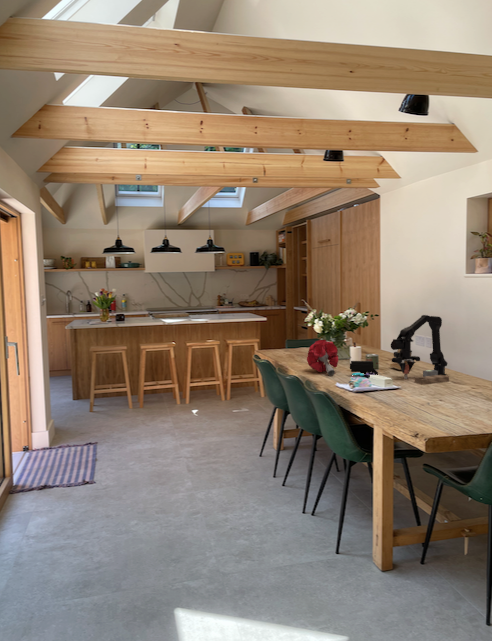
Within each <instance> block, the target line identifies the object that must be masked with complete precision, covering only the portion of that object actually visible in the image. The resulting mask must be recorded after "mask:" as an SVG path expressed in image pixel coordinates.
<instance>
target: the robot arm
mask: <svg viewBox="0 0 492 641" xmlns="http://www.w3.org/2000/svg"><path fill="white" fill-rule="evenodd" d="M442 322H443V319H442V318H441V317H440V316H435V315H431V316H430V315H428V314H422V315H421V316H420V317H419V318H418V319H417V320H415V321H414V322H413V323H412V324H411V325H410V326H407V327H404V328H403V329H401V330H400V331H399V334H398V336H397V338H396V339H395V338H393V339H392V341H391V343H390V349H392V350H393V351H394V352H393V357H392V358H391V363H398V364H399V365H400V367H401V370H400V371H402V374H403V373H404V371H405V364H406V363H404V361H407V363H408V365H409V373H410V372H411V370H412V368H413V366H414V364H417V363H416V362H421V357H420V356H417V355H412V354H411V352H412V353H413V350H411V348H412V346H411V345H412V344H411V343H413V342H414V339H412V338H413V337H414V335H415V333H416V332H417V331H418V330H419V329H420V328H421V327H423V325H425V324H426V323H428V326H429V327H430V330H431V340H432V351H431V352H430V353H429V360H430V361H431V364H432V366H433V370H436V371H438V375H444V376H447V373H446V367H447V366H448V362H447V361H446V359H445V358H444V357H445V356H444V354H443V351H442V349H441V336H440V335H441V333H440V329H441V327H442V325H443V324H442ZM399 349H401V350H400V353H398V352H397V351H398V350H399ZM396 350H397V351H396Z"/></svg>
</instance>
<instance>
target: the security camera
mask: <svg viewBox="0 0 492 641" xmlns="http://www.w3.org/2000/svg"><path fill="white" fill-rule="evenodd" d="M349 370H350V373H359V374H360V373H364V374H366V375H367V374H368V375H374V374H377V375H379V371H378V370H376V369H375V368H374V360H351V361H350V362H349Z"/></svg>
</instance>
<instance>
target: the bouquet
mask: <svg viewBox="0 0 492 641" xmlns="http://www.w3.org/2000/svg"><path fill="white" fill-rule="evenodd" d="M338 350H339V349H338V347H337V346H336V345H335V344H334V341H327V340H326V339H320V340H315V341H314V343H313V344H311V345H310V346H309V349H308V352H307V356H306V362H307V364H308V366H309V367H310V368H311V369H312V370H314V371H315V370H316V371H317V372H319V373H322V372H326V373H327V375H328V376H329V377H332V376H334V375H335V373H336V372H335V369H336V368H337V367H338V364H339V355H338ZM334 368H335V369H334Z"/></svg>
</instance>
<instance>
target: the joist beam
mask: <svg viewBox="0 0 492 641" xmlns="http://www.w3.org/2000/svg"><path fill="white" fill-rule="evenodd" d="M413 380H414V383H416V384H420V385H429V384H438V383H445V382H446V383H447V382H450V376H448V375H434V376H425V377H423V376H416V377H414V379H413Z"/></svg>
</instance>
